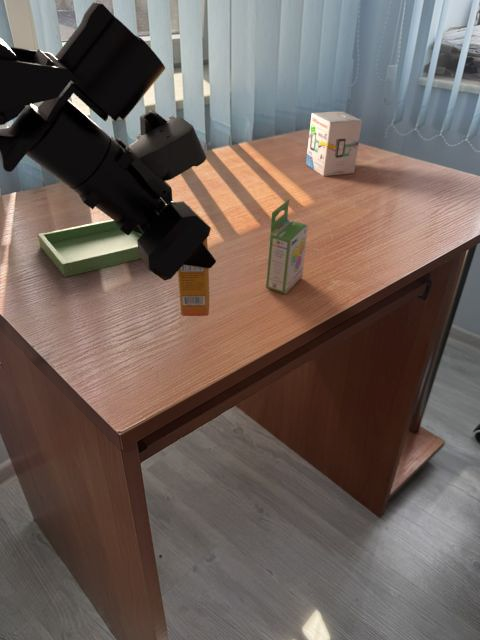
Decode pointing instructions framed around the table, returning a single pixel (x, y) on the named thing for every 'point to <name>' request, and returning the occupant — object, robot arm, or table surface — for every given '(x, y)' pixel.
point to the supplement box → (194, 289)
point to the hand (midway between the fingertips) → (205, 256)
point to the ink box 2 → (333, 143)
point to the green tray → (89, 247)
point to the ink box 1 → (285, 251)
